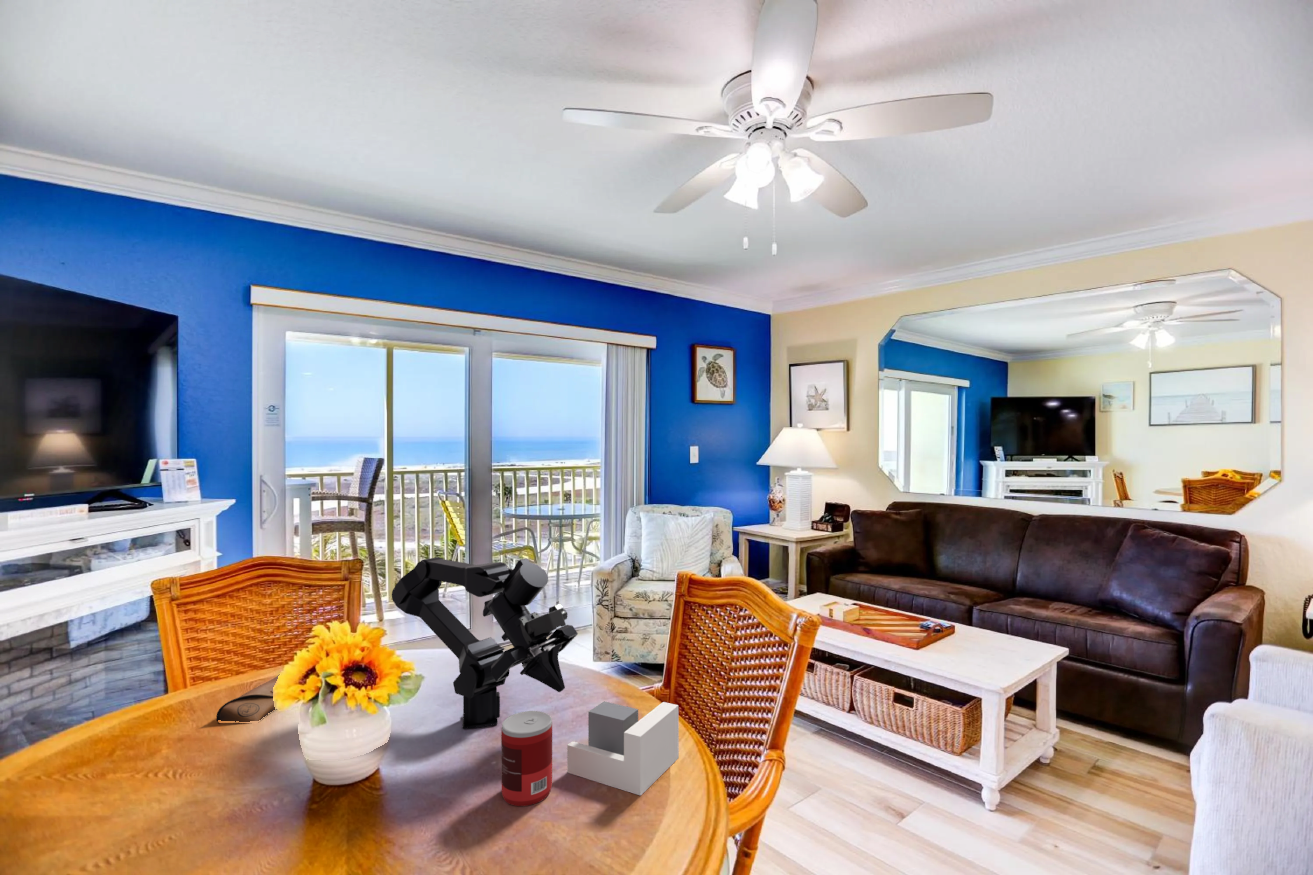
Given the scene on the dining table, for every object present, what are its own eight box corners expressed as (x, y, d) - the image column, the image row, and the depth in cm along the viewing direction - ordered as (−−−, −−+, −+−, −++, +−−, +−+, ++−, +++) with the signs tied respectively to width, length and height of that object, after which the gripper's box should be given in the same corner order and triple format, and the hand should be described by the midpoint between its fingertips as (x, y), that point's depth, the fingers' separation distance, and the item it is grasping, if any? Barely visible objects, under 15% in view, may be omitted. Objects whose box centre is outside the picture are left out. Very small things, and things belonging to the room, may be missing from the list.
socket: (567, 772, 100) (567, 717, 100) (610, 739, 112) (610, 689, 112) (640, 795, 94) (640, 736, 94) (678, 757, 105) (678, 705, 105)
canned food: (557, 779, 98) (557, 711, 98) (543, 808, 90) (543, 734, 90) (511, 777, 99) (511, 709, 99) (493, 806, 91) (493, 732, 91)
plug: (588, 761, 103) (588, 711, 103) (604, 749, 107) (604, 701, 108) (636, 776, 99) (636, 723, 99) (651, 762, 103) (650, 712, 103)
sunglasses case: (257, 723, 118) (240, 693, 118) (227, 741, 118) (210, 711, 119) (313, 687, 136) (299, 661, 136) (287, 703, 136) (272, 677, 137)
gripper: (503, 604, 104) (555, 681, 98) (570, 583, 120) (617, 648, 115) (469, 643, 107) (517, 720, 102) (538, 617, 124) (582, 682, 118)
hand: (562, 690), depth 109 cm, fingers closed
